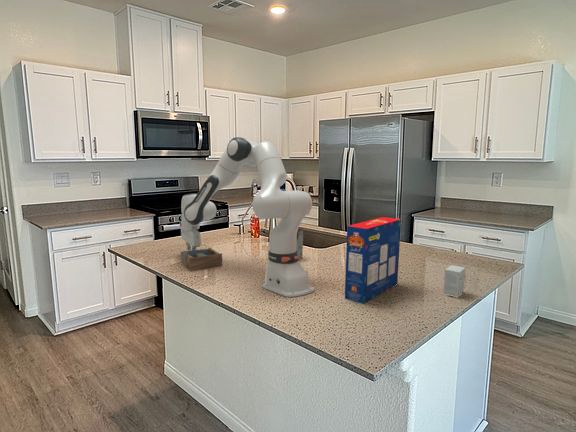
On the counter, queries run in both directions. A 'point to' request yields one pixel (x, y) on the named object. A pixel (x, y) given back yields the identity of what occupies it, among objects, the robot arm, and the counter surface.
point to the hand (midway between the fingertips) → (191, 251)
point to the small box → (454, 280)
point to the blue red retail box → (372, 258)
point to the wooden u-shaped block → (202, 260)
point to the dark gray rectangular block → (199, 255)
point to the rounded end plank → (194, 252)
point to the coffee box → (299, 243)
